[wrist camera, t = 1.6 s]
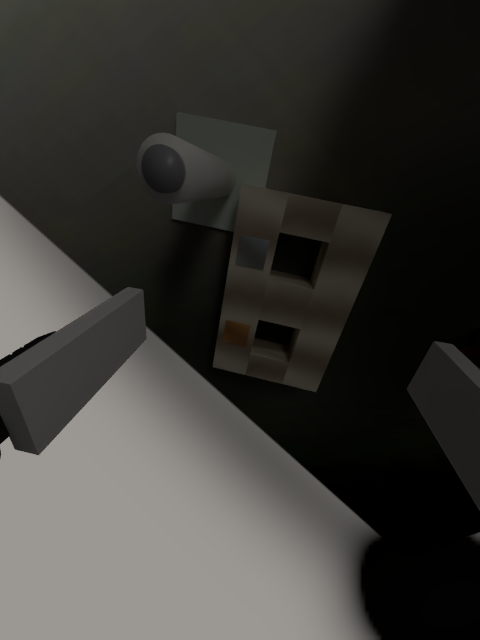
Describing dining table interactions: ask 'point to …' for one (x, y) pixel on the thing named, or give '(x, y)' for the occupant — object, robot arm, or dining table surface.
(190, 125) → the pad
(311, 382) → the socket block
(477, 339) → the mug
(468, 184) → the dining table surface
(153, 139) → the plug
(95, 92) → the dining table surface
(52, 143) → the dining table surface
